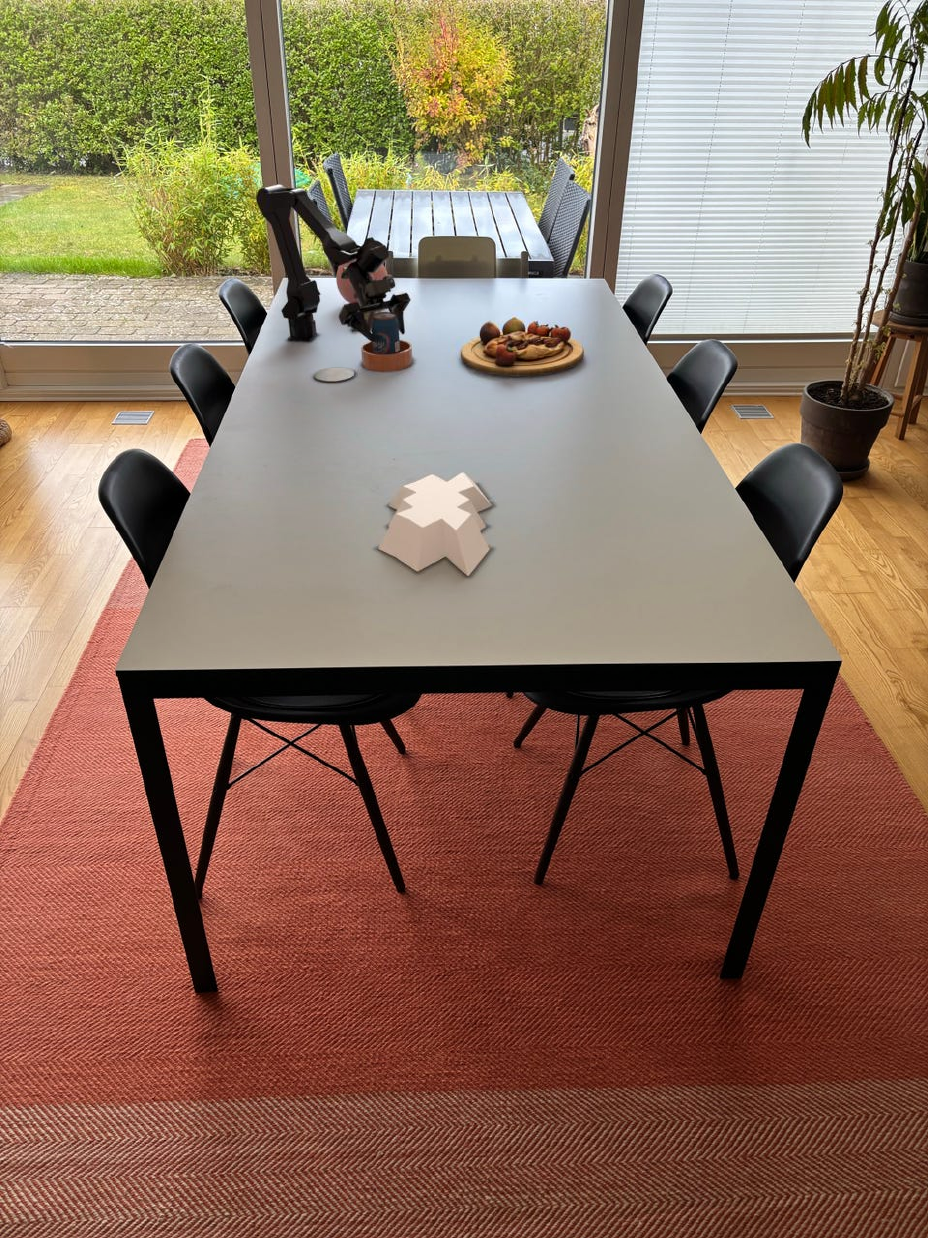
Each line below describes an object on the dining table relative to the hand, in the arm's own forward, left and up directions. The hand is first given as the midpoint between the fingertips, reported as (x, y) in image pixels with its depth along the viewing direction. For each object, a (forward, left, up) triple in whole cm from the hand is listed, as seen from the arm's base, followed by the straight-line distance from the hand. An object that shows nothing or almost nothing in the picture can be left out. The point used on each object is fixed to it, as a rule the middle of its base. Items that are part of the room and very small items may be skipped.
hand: (388, 337), depth 250 cm
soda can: (-1, +1, -7) cm, 7 cm away
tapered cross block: (+37, -82, -7) cm, 90 cm away
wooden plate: (+32, +12, -7) cm, 35 cm away
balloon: (-24, +46, -7) cm, 52 cm away
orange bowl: (-1, +1, -7) cm, 7 cm away
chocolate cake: (-17, +30, -7) cm, 35 cm away
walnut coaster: (-11, -11, -7) cm, 17 cm away
